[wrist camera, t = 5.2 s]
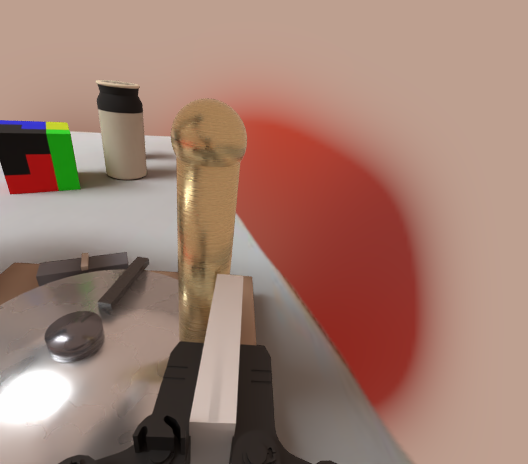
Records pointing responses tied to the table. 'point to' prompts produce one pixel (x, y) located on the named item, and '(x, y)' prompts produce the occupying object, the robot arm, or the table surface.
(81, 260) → the walnut stand
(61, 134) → the puzzle toy
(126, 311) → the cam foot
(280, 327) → the table surface
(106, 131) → the travel mug
